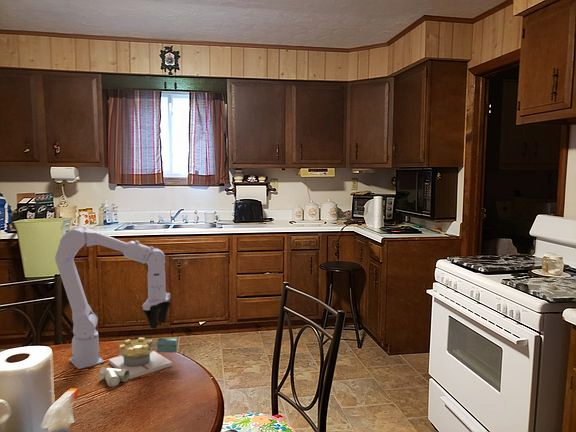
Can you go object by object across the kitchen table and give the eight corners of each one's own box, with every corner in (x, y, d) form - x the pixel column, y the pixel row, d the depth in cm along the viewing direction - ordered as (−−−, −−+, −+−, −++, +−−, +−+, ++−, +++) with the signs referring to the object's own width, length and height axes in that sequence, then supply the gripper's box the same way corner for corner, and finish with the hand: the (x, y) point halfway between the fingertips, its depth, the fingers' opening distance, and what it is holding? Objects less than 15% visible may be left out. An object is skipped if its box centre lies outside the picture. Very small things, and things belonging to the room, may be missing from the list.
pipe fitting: (117, 390, 129) (130, 378, 136) (116, 378, 129) (129, 366, 135) (92, 388, 131) (106, 376, 138) (91, 375, 131) (105, 364, 137)
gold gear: (114, 357, 140) (114, 344, 140) (127, 345, 150) (127, 333, 150) (172, 358, 139) (171, 345, 139) (181, 346, 149) (180, 333, 149)
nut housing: (108, 362, 147) (108, 350, 147) (149, 351, 157) (149, 339, 156) (129, 379, 135) (128, 365, 135) (171, 365, 145) (171, 353, 144)
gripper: (156, 291, 143) (157, 333, 145) (177, 281, 157) (178, 319, 159) (136, 290, 145) (137, 331, 146) (159, 279, 159) (160, 317, 160)
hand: (157, 325), depth 153 cm, fingers open, 5 cm apart
